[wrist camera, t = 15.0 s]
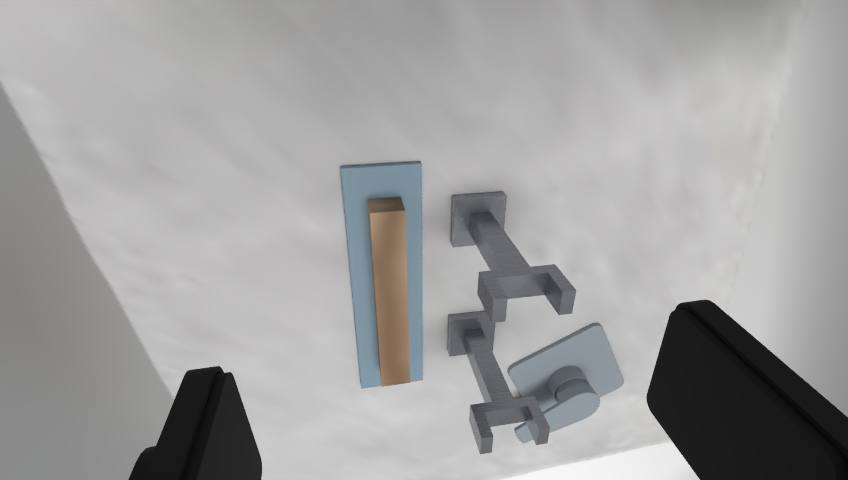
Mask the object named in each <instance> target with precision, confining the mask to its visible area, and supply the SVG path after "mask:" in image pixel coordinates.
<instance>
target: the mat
mask: <svg viewBox="0 0 848 480" xmlns="http://www.w3.org/2000/svg"><path fill="white" fill-rule="evenodd" d="M341 176H342V187H343V198H344V208H345V219H346V230H347V240H348V251H349V262H350V272H351V283H352V293H353V304H354V315H355V325H356V336H357V347H358V357H359V368H360V379H361V388H369V387H376V386H382V384H381V376H380V369H379V357H378V342H377V328H376V314H375V300H374V286H373V272H372V257H371V243H370V229H369V215H368V201H367V199H377V198H390V197H401V199H402V202H403V205H404V208H405V214H406V250H407V286H408V322H409V359H410V382H413V381H420V380H423V356H422V170H421V162H405V163H388V164H372V165H356V166H341Z"/></svg>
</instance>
